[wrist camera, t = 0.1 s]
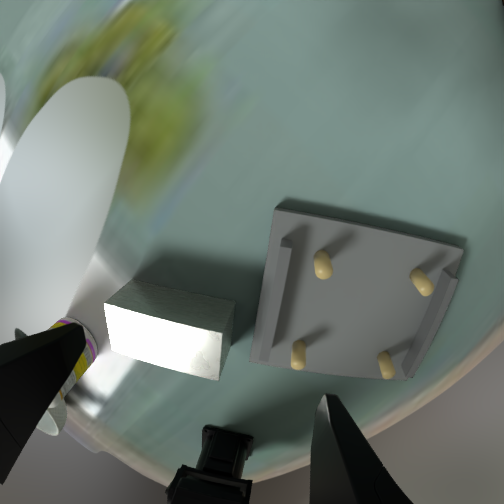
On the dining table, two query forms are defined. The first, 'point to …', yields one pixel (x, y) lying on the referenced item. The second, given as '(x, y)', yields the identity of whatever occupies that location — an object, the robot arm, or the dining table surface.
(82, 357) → the supplement bottle
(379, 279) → the tray
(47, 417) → the cereal bowl
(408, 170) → the dining table surface
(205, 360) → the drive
